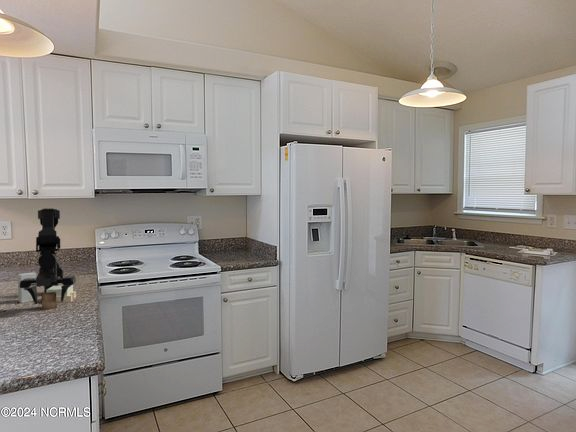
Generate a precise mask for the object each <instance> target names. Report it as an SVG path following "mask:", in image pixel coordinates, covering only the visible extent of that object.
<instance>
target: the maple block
mask: <svg viewBox="0 0 576 432" xmlns="http://www.w3.org/2000/svg"><path fill="white" fill-rule="evenodd" d="M76 297H77V291H76V290H73V292H72V293H70V294H69V295H68V296H65V297H64V300H63V302H61V296H56V304H59V303H60V304H61V303H71V302H73V300H74V299H75V298H76Z"/></svg>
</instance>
